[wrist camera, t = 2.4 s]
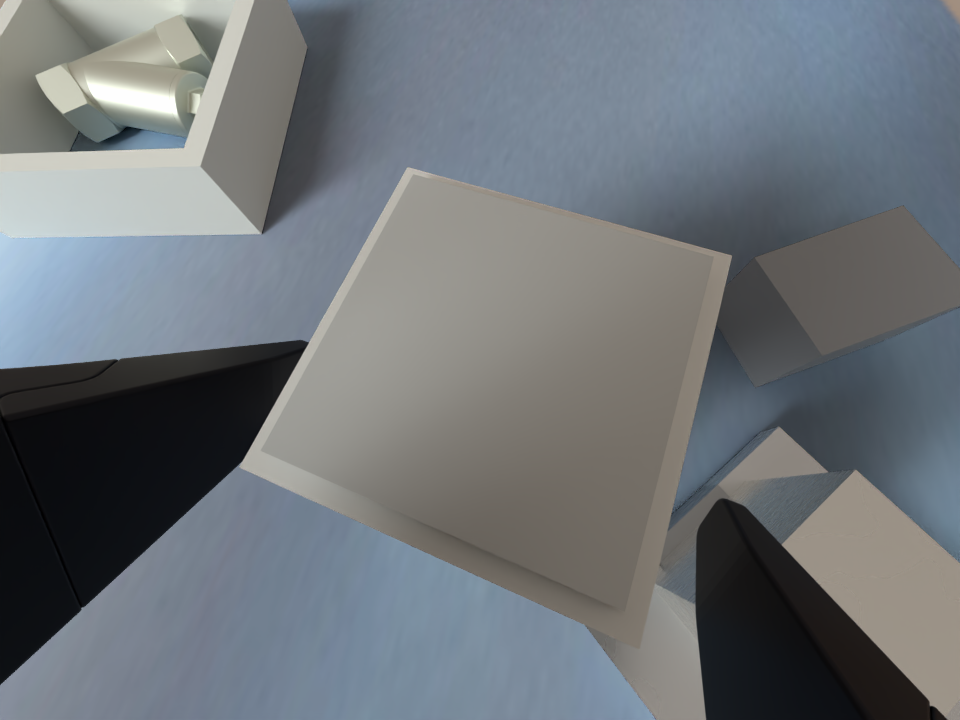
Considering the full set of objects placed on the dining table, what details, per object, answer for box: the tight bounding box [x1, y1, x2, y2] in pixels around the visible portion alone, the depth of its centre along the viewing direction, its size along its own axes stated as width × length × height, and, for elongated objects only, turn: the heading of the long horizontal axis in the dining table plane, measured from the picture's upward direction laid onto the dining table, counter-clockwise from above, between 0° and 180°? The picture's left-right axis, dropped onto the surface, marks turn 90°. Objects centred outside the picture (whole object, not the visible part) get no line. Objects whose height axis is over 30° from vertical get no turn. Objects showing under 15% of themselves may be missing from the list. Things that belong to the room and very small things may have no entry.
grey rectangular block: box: [716, 206, 960, 388], centre depth 16 cm, size 6×4×4 cm, turn 110°
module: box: [240, 167, 732, 650], centre depth 11 cm, size 5×5×12 cm
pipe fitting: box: [35, 14, 214, 143], centre depth 23 cm, size 8×4×7 cm
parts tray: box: [0, 0, 307, 238], centre depth 22 cm, size 14×14×4 cm
